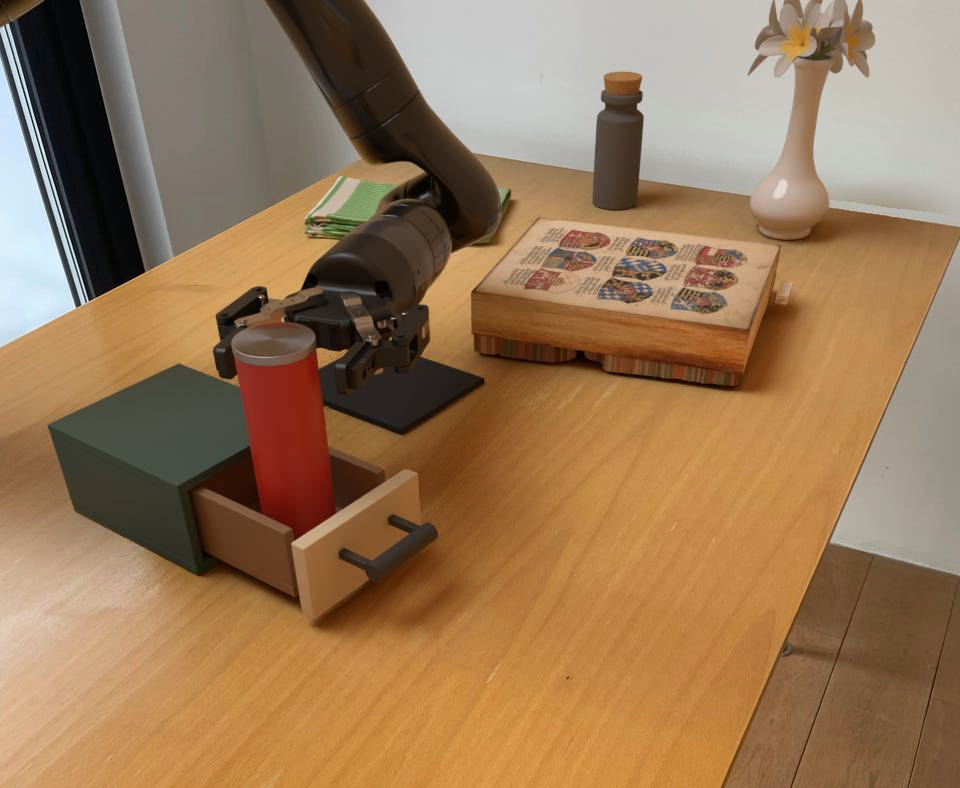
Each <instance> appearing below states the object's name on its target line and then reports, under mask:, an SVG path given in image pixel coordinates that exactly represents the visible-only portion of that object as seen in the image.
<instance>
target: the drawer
mask: <svg viewBox="0 0 960 788" xmlns="http://www.w3.org/2000/svg"><path fill="white" fill-rule="evenodd" d="M328 449H329V457H330V465H331V473H332V481H333V490H334V498H335V506H336V514H335V515H333V516H332V517H330V518H329V519H327V520H326V521H324V522H323V523H321V524H320V525H318V526H317V527H315V528H314V529H312V530H311V531H309V532H307V533H306V534H304V535H303V536H301V537H300V538H298V539H297V540H295V541H294V536H293V529H292V528H290V527H288V526H286V525H284V524H282V523H279V522H277V521H275V520H273V519H271V518H269V517H266V516H264V515H262V510H261V505H260V499H259V493H258V488H257V482H256V477H255V471H254V465H253V460H252V455H251V456H249V457H247V458H245V459H244V460H242V461H240V462H238V463H237V464H235V465H233V466H231V467H229V468H228V469H226V470H224V471H222V472H221V473H219V474H217V475H215V476H214V477H212V478H210V479H208V480H207V481H205V482H203V483H201V484H199V485H198V486H196V487H194V488H192V489H191V490H189V491H188V494H189V498H190V502H191V507H192V511H193V516H194V520H195V524H196V529H197V533H198V537H199V542H200V546H201V550H202V551H204V552H206V553H208V554H210V555H212V556H214V557H216V558H218V559H220V560H222V561H221V562H223V563H226V564H228V565H230V566H232V567H234V568H236V569H238V570H240V571H242V572H244V573H245V574H248V575H250V576H252V577H253V578H256V579H258V580H260V581H261V582H264V583H266V584H267V585H269V586H271V587H273V588H276V590H280V591H281V592H283V593H285V594H287V595H289V596H291V597H292V598H296V597H297V596H299V601H300V607H301V613H302V614H303V615H305V616H307V617H308V618H311V619H313V620H316V619H317V618H318V617H320V616H322V614H324V613H325V612H326V611H328V610H329V609H331V608H332V607H334V606H335V605H337V603H339V602H341V601H342V600H343V599H344V598H346V597H347V596H348V595H350V594H352V592H354V591H355V590H357V589H358V588H360V587H361V586H362V585H364V584H365V583H367V582H368V581H369V580H370V581H371V582H373V583H380V582H381V581H384V579H386V578H387V577H388V576H390V575H391V574H392V573H394V572H395V571H396V570H397V569H399V568H400V567H402V566H403V565H405V564H406V563H408V561H410V560H411V559H412V558H413V557H415V556H417V555H418V554H420V553H421V552H422V551H423V550H425V549H426V548H428V547H429V546H431V544H433V543H434V542H436V540H438V538H439V531H438V529H437V527H436V526H435V525H434V524H433V523H431V522H428V521H426V522H423V523H422V520H421V505H420V502H421V501H420V487H419V486H420V485H419V474H418V473H417V472H416V471H414V470H410V469H408V468H404V469H402V470H400V471H399V472H397V473H396V474H395V475H393V476H391V477H390V478H388V479H387V480H386V469H385V468H384V467H380V466H379V465H376V464H373V463H371V462H368V461H366V460H363V459H361V458H358V457H356V456H354V455H351V454H348V453H346V452H344V451H341V450H338V449H337V448H334V447H331V446H329V445H328Z"/></svg>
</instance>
